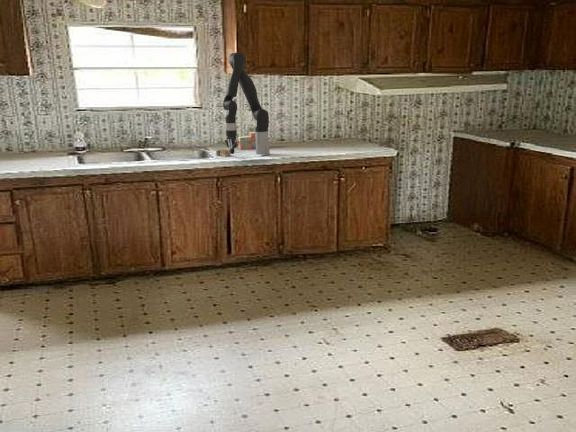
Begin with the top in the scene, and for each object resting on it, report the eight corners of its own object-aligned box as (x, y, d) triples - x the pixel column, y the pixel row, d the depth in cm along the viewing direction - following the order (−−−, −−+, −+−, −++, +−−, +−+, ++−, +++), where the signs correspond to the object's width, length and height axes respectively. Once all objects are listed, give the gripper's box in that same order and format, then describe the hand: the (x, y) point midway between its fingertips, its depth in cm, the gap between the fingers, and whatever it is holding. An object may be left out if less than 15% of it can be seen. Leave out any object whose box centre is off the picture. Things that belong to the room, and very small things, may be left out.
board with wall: (223, 155, 405) (223, 149, 403) (231, 157, 399) (231, 150, 398) (216, 157, 400) (215, 150, 398) (224, 158, 394) (223, 151, 393)
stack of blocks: (240, 149, 429) (239, 133, 426) (238, 148, 435) (238, 132, 432) (267, 147, 435) (266, 132, 431) (265, 146, 441) (264, 131, 437)
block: (225, 154, 402) (225, 149, 400) (230, 155, 398) (230, 150, 397) (220, 156, 398) (219, 150, 397) (225, 156, 394) (224, 151, 393)
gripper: (241, 129, 386) (242, 154, 391) (228, 128, 394) (230, 152, 399) (233, 130, 380) (234, 155, 385) (220, 129, 389) (222, 153, 394)
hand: (232, 153), depth 392 cm, fingers closed
